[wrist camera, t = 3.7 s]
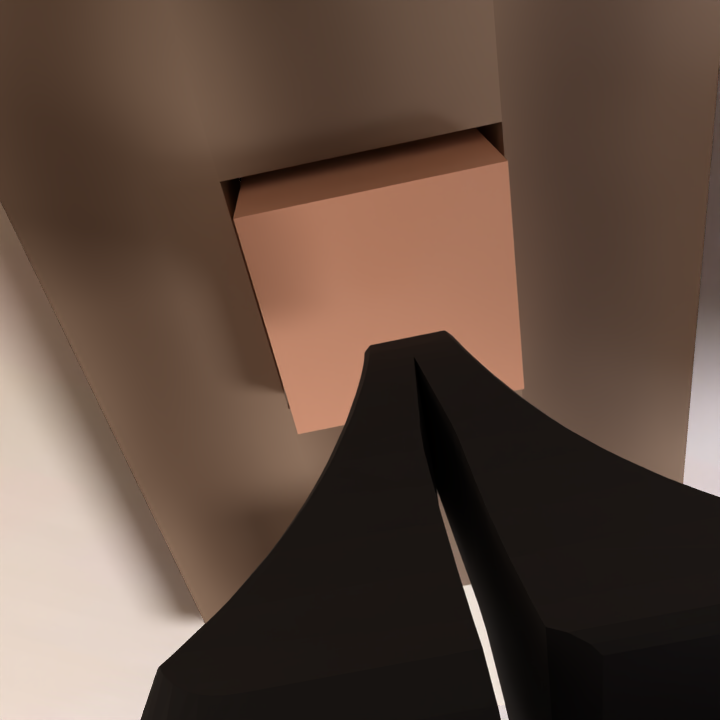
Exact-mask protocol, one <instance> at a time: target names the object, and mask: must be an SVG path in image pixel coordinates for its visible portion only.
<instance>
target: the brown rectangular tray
mask: <svg viewBox="0 0 720 720" xmlns="http://www.w3.org/2000/svg"><path fill="white" fill-rule="evenodd" d="M719 63H720V0H0V201H1V203H2V205H3V207H4V209H5V211H6V213H7V216H8V218H9V220H10V222H11V224H12V226H13V228H14V230H15V232H16V234H17V236H18V238H19V240H20V242H21V244H22V246H23V249H24V251H25V253H26V255H27V257H28V259H29V261H30V263H31V265H32V267H33V269H34V271H35V273H36V275H37V277H38V279H39V282H40V284H41V286H42V288H43V290H44V292H45V294H46V296H47V298H48V300H49V302H50V304H51V306H52V308H53V310H54V313H55V315H56V317H57V319H58V321H59V323H60V325H61V327H62V329H63V331H64V333H65V335H66V337H67V339H68V341H69V343H70V346H71V348H72V350H73V352H74V354H75V356H76V358H77V360H78V362H79V364H80V366H81V368H82V370H83V372H84V374H85V376H86V379H87V381H88V383H89V385H90V387H91V389H92V391H93V393H94V395H95V397H96V399H97V401H98V403H99V405H100V407H101V410H102V412H103V414H104V416H105V418H106V420H107V422H108V424H109V426H110V428H111V430H112V432H113V434H114V436H115V438H116V440H117V443H118V445H119V447H120V449H121V451H122V453H123V455H124V457H125V459H126V461H127V463H128V465H129V467H130V469H131V471H132V474H133V476H134V478H135V480H136V482H137V484H138V486H139V488H140V490H141V492H142V494H143V496H144V498H145V500H146V502H147V504H148V507H149V509H150V511H151V513H152V515H153V517H154V519H155V521H156V523H157V525H158V527H159V529H160V531H161V533H162V535H163V537H164V540H165V542H166V544H167V546H168V548H169V550H170V552H171V554H172V556H173V558H174V560H175V562H176V564H177V566H178V568H179V571H180V573H181V575H182V577H183V579H184V581H185V583H186V585H187V587H188V589H189V591H190V593H191V595H192V597H193V599H194V601H195V604H196V606H197V608H198V610H199V612H200V614H201V616H202V618H203V620H204V622H205V623H206V622H208V621H209V620H210V619H211V618H212V617H213V616H214V615H215V614H216V613H217V612H218V611H219V610H220V609H221V608H222V607H223V606H224V605H225V604H226V603H227V602H228V601H229V600H230V598H231V597H232V596H233V595H234V594H235V593H236V592H237V590H238V589H239V588H240V587H241V586H242V585H243V583H244V582H245V581H246V580H247V579H248V578H249V576H250V575H251V574H252V573H253V572H254V571H255V569H256V568H257V567H258V566H259V565H260V563H261V562H262V561H263V560H264V559H265V558H266V556H267V555H268V554H269V553H270V551H271V550H272V549H273V547H274V546H275V545H276V543H277V542H278V541H279V539H280V538H281V537H282V535H283V534H284V532H285V531H286V529H287V528H288V526H289V525H290V524H291V522H292V521H293V519H294V518H295V516H296V515H297V513H298V512H299V510H300V509H301V507H302V506H303V504H304V503H305V501H306V499H307V498H308V496H309V494H310V493H311V491H312V489H313V488H314V486H315V484H316V483H317V481H318V479H319V477H320V475H321V474H322V472H323V470H324V468H325V466H326V464H327V462H328V460H329V458H330V456H331V454H332V452H333V449H334V447H335V445H336V443H337V441H338V438H339V436H340V434H341V432H342V430H343V427H344V425H342V426H337V427H332V428H327V429H322V430H317V431H312V432H307V433H302V434H298V433H297V429H296V426H295V423H294V419H293V416H292V413H291V409H290V406H289V403H288V399H287V396H286V393H285V389H284V386H283V383H282V379H281V376H280V373H279V369H278V366H277V363H276V359H275V356H274V353H273V349H272V346H271V343H270V339H269V336H268V333H267V329H266V326H265V323H264V319H263V316H262V313H261V309H260V306H259V303H258V299H257V296H256V293H255V289H254V286H253V283H252V280H251V276H250V273H249V270H248V266H247V263H246V260H245V256H244V253H243V250H242V246H241V243H240V240H239V236H238V233H237V230H236V226H235V223H234V220H233V218H234V213H235V209H236V204H237V200H238V195H239V191H240V187H241V185H240V182H239V178H240V177H245V176H249V175H254V174H259V173H263V172H268V171H273V170H277V169H282V168H287V167H292V166H296V165H301V164H306V163H310V162H315V161H320V160H324V159H329V158H334V157H339V156H343V155H348V154H353V153H357V152H362V151H367V150H371V149H376V148H381V147H386V146H390V145H395V144H400V143H404V142H409V141H414V140H418V139H423V138H428V137H433V136H437V135H442V134H447V133H451V132H456V131H461V130H466V129H470V128H475V127H476V129H477V130H478V131H479V132H480V133H481V134H482V135H483V136H484V137H485V138H486V139H487V140H488V141H489V142H490V143H491V144H492V145H493V146H494V147H495V148H496V149H497V150H498V151H499V152H500V153H501V154H502V155H503V156H504V157H505V158H506V159H507V160H508V168H509V182H510V196H511V210H512V224H513V238H514V252H515V266H516V280H517V294H518V307H519V321H520V335H521V349H522V363H523V377H524V389H521V390H516V391H515V392H516V393H517V394H518V395H520V396H521V397H522V398H524V399H525V400H526V401H528V402H529V403H530V404H532V405H533V406H535V407H536V408H538V409H539V410H540V411H542V412H543V413H545V414H546V415H548V416H549V417H551V418H552V419H554V420H555V421H557V422H558V423H560V424H561V425H563V426H564V427H566V428H568V429H569V430H571V431H573V432H575V433H576V434H578V435H580V436H582V437H584V438H585V439H587V440H589V441H591V442H592V443H594V444H596V445H598V446H600V447H602V448H604V449H605V450H608V451H610V452H612V453H614V454H616V455H618V456H620V457H622V458H624V459H626V460H628V461H631V462H633V463H635V464H637V465H639V466H642V467H644V468H646V469H648V470H651V471H653V472H655V473H657V474H660V475H662V476H664V477H667V478H669V479H672V480H674V481H677V482H679V483H682V484H683V477H684V465H685V454H686V442H687V431H688V419H689V408H690V396H691V385H692V374H693V362H694V351H695V339H696V328H697V316H698V305H699V293H700V282H701V270H702V259H703V247H704V236H705V224H706V213H707V201H708V190H709V178H710V167H711V155H712V144H713V132H714V121H715V109H716V98H717V86H718V75H719Z"/></svg>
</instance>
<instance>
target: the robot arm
mask: <svg viewBox="0 0 720 720" xmlns="http://www.w3.org/2000/svg"><path fill="white" fill-rule="evenodd" d="M437 491H438V494H439V497H440V499H441V502H442V505H443V508H444V511H445V513H446V516H447V519H448V522H449V525H450V527H451V530H452V533H453V536H454V539H455V541H456V544H457V547H458V550H459V552H460V555H461V558H462V561H463V563H464V566H465V569H466V572H467V575H468V577H469V580H470V583H471V586H472V588H473V591H474V594H475V597H476V600H477V602H478V605H479V609H480V612H481V615H482V618H483V621H484V625H485V628H486V631H487V635H488V639H489V643H490V647H491V651H492V655H493V659H494V663H495V666H496V670H497V674H498V678H499V682H500V686H501V690H502V694H503V698H504V702H505V706H506V710H507V714H508V718H509V720H720V497H718V496H715V495H712V494H709V493H706V492H703V491H700V490H698V489H695V488H692V487H690V486H687V485H685V484H682V483H679V482H677V481H674V480H672V479H669V478H667V477H664V476H662V475H660V474H657V473H655V472H653V471H651V470H648V469H646V468H644V467H642V466H639V465H637V464H635V463H633V462H631V461H628V460H626V459H624V458H622V457H620V456H618V455H616V454H614V453H612V452H610V451H608V450H605V449H604V448H602V447H600V446H598V445H596V444H594V443H592V442H591V441H589V440H587V439H585V438H584V437H582V436H580V435H578V434H576V433H575V432H573V431H571V430H569V429H568V428H566V427H564V426H563V425H561V424H560V423H558V422H557V421H555V420H554V419H552V418H551V417H549V416H548V415H546V414H545V413H543V412H542V411H540V410H539V409H538V408H536V407H535V406H533V405H532V404H530V403H529V402H528V401H526V400H525V399H524V398H522V397H521V396H520V395H518V394H517V393H516V392H515V391H513V390H512V389H511V388H510V387H508V386H507V385H506V384H505V383H503V382H502V381H501V380H500V379H498V378H497V377H496V376H495V375H494V374H492V373H491V372H490V371H489V370H488V369H487V368H485V367H484V366H483V365H482V364H481V363H480V362H479V361H478V360H477V359H476V358H474V357H473V356H472V355H471V354H470V353H469V352H468V351H467V350H466V349H465V348H464V347H463V346H462V345H461V344H460V343H459V342H458V341H457V340H456V339H455V338H454V337H453V336H452V335H451V334H450V333H448V332H447V331H445V330H443V331H438V332H433V333H428V334H423V335H418V336H413V337H408V338H403V339H398V340H393V341H388V342H384V343H379V344H374V345H370V346H369V347H368V349H367V350H366V351H365V353H364V363H363V369H362V373H361V377H360V381H359V385H358V388H357V392H356V395H355V397H354V400H353V403H352V406H351V409H350V412H349V414H348V417H347V420H346V422H345V425H344V427H343V430H342V432H341V434H340V436H339V438H338V441H337V443H336V445H335V447H334V449H333V452H332V454H331V456H330V458H329V460H328V462H327V464H326V466H325V468H324V470H323V472H322V474H321V475H320V477H319V479H318V481H317V483H316V484H315V486H314V488H313V489H312V491H311V493H310V494H309V496H308V498H307V499H306V501H305V503H304V504H303V506H302V507H301V509H300V510H299V512H298V513H297V515H296V516H295V518H294V519H293V521H292V522H291V524H290V525H289V526H288V528H287V529H286V531H285V532H284V534H283V535H282V537H281V538H280V539H279V541H278V542H277V543H276V545H275V546H274V547H273V549H272V550H271V551H270V553H269V554H268V555H267V556H266V558H265V559H264V560H263V561H262V562H261V563H260V565H259V566H258V567H257V568H256V569H255V571H254V572H253V573H252V574H251V575H250V576H249V578H248V579H247V580H246V581H245V582H244V583H243V585H242V586H241V587H240V588H239V589H238V590H237V592H236V593H235V594H234V595H233V596H232V597H231V598H230V600H229V601H228V602H227V603H226V604H225V605H224V606H223V607H222V608H221V609H220V610H219V611H218V612H217V613H216V614H215V615H214V616H213V617H212V618H211V619H210V620H209V621H208V622H206V623H205V624H204V625H203V626H202V627H201V628H200V629H199V630H198V631H197V632H196V633H195V634H194V635H193V636H192V637H191V638H190V639H189V640H188V641H187V642H185V643H184V644H183V645H182V646H181V647H180V648H179V649H178V650H177V651H176V652H175V653H174V654H173V655H172V656H171V657H169V658H168V659H167V660H166V661H165V662H164V663H163V664H162V665H160V666H159V668H158V670H157V673H156V675H155V678H154V681H153V684H152V687H151V690H150V693H149V696H148V699H147V702H146V705H145V708H144V711H143V714H142V717H141V720H501V718H500V714H499V709H498V705H497V701H496V697H495V693H494V689H493V685H492V682H491V678H490V674H489V670H488V666H487V662H486V659H485V655H484V651H483V647H482V644H481V641H480V638H479V635H478V632H477V629H476V626H475V623H474V620H473V617H472V614H471V610H470V607H469V604H468V601H467V598H466V595H465V591H464V588H463V585H462V582H461V579H460V575H459V572H458V569H457V566H456V562H455V559H454V555H453V552H452V549H451V545H450V542H449V539H448V535H447V532H446V528H445V525H444V522H443V518H442V514H441V511H440V507H439V503H438V495H437Z"/></svg>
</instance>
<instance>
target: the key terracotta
mask: <svg viewBox="0 0 720 720" xmlns="http://www.w3.org/2000/svg"><path fill="white" fill-rule="evenodd" d="M233 220H234V223H235V226H236V230H237V233H238V236H239V240H240V243H241V246H242V250H243V253H244V256H245V260H246V263H247V266H248V270H249V273H250V276H251V280H252V283H253V286H254V289H255V293H256V296H257V299H258V303H259V306H260V309H261V313H262V316H263V319H264V323H265V326H266V329H267V333H268V336H269V339H270V343H271V346H272V349H273V353H274V356H275V359H276V363H277V366H278V369H279V373H280V376H281V379H282V383H283V386H284V389H285V393H286V396H287V399H288V403H289V406H290V409H291V413H292V416H293V419H294V423H295V426H296V429H297V433H298V434H302V433H307V432H312V431H317V430H322V429H327V428H332V427H337V426H342V425H345V422H346V420H347V417H348V414H349V412H350V409H351V406H352V403H353V400H354V397H355V395H356V392H357V388H358V385H359V381H360V377H361V373H362V369H363V363H364V353H365V351H366V350H367V349H368V347H369V346H370V345H374V344H379V343H384V342H388V341H393V340H398V339H403V338H408V337H413V336H418V335H423V334H428V333H433V332H438V331H443V330H445V331H447V332H448V333H450V334H451V335H452V336H453V337H454V338H455V339H456V340H457V341H458V342H459V343H460V344H461V345H462V346H463V347H464V348H465V349H466V350H467V351H468V352H469V353H470V354H471V355H472V356H473V357H474V358H476V359H477V360H478V361H479V362H480V363H481V364H482V365H483V366H484V367H485V368H487V369H488V370H489V371H490V372H491V373H492V374H494V375H495V376H496V377H497V378H498V379H500V380H501V381H502V382H503V383H505V384H506V385H507V386H508V387H510V388H511V389H512V390H513V391H516V390H521V389H524V377H523V363H522V349H521V335H520V321H519V307H518V294H517V280H516V266H515V252H514V238H513V224H512V210H511V196H510V182H509V168H508V160H507V159H506V158H505V157H504V156H503V155H502V154H501V153H500V152H499V151H498V150H497V149H496V148H495V147H494V146H493V145H492V144H491V143H490V142H489V141H488V140H487V139H486V138H485V137H484V136H483V135H482V134H481V133H480V132H479V131H478V130H477V129H476V128H470V129H466V130H461V131H456V132H451V133H447V134H442V135H437V136H433V137H428V138H423V139H418V140H414V141H409V142H404V143H400V144H395V145H390V146H386V147H381V148H376V149H371V150H367V151H362V152H357V153H353V154H348V155H343V156H339V157H334V158H329V159H324V160H320V161H315V162H310V163H306V164H301V165H296V166H292V167H287V168H282V169H277V170H273V171H268V172H263V173H259V174H254V175H249V176H245V177H243V178H242V182H241V187H240V191H239V195H238V200H237V204H236V209H235V213H234V218H233Z"/></svg>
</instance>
